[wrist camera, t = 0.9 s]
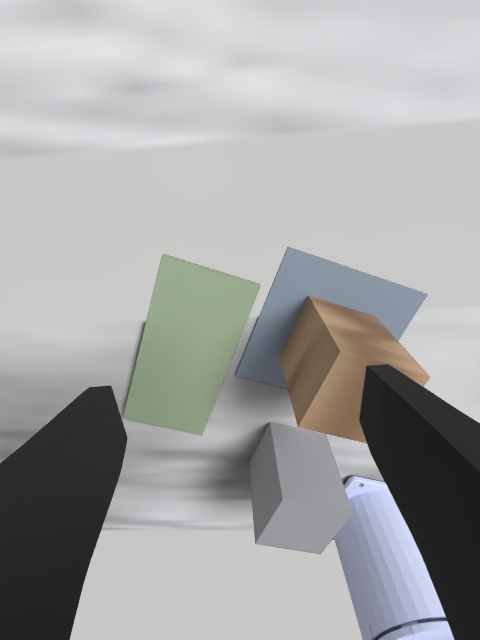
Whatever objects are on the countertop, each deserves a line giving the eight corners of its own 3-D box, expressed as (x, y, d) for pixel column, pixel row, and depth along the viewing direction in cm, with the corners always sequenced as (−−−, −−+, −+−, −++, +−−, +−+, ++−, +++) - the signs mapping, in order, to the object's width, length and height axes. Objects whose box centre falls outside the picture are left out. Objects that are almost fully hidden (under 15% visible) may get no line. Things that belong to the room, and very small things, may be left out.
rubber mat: (259, 283, 19) (260, 286, 19) (202, 431, 24) (201, 435, 24) (163, 253, 18) (161, 256, 18) (124, 414, 23) (122, 418, 23)
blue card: (426, 293, 20) (428, 294, 20) (355, 405, 23) (356, 406, 23) (287, 246, 18) (288, 247, 18) (235, 374, 22) (235, 375, 22)
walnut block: (375, 316, 20) (430, 377, 15) (342, 374, 22) (379, 446, 17) (308, 295, 19) (340, 351, 14) (279, 357, 21) (298, 427, 16)
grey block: (325, 434, 25) (353, 512, 19) (301, 473, 27) (320, 554, 21) (270, 421, 24) (282, 499, 19) (249, 462, 26) (255, 543, 21)
